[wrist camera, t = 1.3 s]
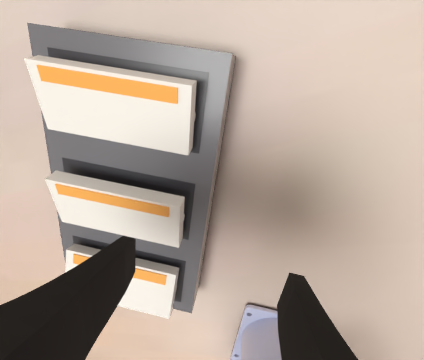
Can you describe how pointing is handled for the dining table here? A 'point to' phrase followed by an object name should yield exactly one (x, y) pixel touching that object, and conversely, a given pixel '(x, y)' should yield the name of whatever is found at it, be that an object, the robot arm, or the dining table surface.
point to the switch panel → (141, 156)
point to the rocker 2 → (138, 283)
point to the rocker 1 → (115, 103)
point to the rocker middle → (118, 208)
